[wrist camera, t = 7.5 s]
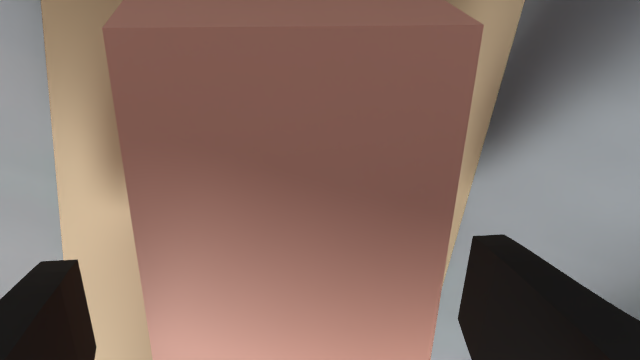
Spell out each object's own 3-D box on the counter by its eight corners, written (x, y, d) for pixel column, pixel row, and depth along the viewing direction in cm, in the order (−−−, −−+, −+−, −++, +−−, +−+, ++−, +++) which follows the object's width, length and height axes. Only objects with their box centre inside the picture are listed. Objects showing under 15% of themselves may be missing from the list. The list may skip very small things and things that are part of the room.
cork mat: (539, -68, 11) (544, -67, 11) (403, 407, 17) (405, 413, 17) (32, -140, 9) (28, -141, 9) (79, 415, 15) (77, 422, 15)
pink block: (381, -41, 11) (487, 24, 6) (350, 383, 16) (397, 578, 12) (152, -43, 10) (96, 27, 6) (199, 397, 15) (188, 608, 11)
